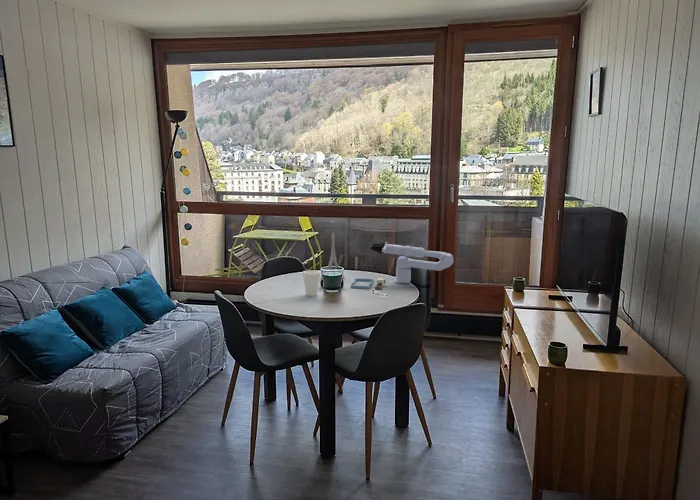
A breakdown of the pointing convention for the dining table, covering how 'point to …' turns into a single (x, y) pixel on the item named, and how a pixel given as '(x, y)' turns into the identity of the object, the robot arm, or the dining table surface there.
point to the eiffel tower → (333, 254)
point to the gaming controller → (322, 283)
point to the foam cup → (311, 282)
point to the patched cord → (380, 282)
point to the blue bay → (362, 286)
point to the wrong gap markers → (379, 286)
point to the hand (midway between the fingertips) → (371, 246)
